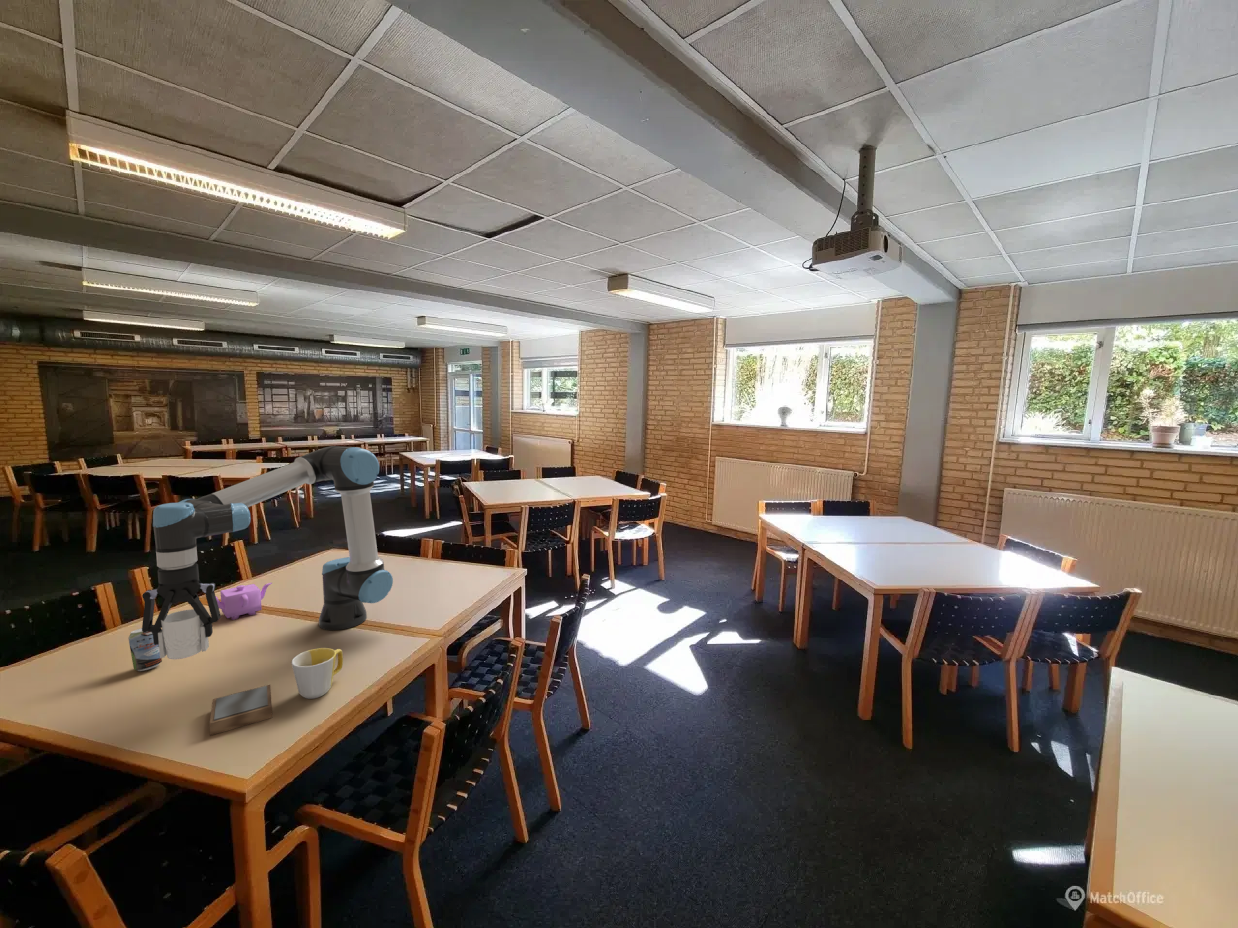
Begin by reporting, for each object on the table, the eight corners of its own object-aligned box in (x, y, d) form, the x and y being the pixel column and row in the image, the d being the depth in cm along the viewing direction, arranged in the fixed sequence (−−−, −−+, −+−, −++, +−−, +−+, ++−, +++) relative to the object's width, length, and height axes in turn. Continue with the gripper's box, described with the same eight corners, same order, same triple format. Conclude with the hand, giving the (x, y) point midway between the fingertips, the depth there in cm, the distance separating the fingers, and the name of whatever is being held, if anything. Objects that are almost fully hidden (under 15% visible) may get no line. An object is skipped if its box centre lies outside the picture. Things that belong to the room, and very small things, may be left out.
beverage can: (144, 674, 141) (141, 635, 139) (124, 671, 142) (121, 632, 141) (168, 664, 147) (165, 625, 146) (149, 661, 148) (146, 623, 147)
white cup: (181, 645, 129) (178, 609, 127) (213, 645, 129) (210, 608, 128) (155, 661, 121) (151, 622, 120) (189, 660, 121) (186, 622, 120)
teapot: (240, 605, 190) (238, 578, 189) (274, 606, 190) (272, 579, 189) (206, 622, 175) (204, 593, 174) (244, 623, 175) (242, 594, 174)
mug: (307, 708, 127) (305, 670, 126) (285, 696, 132) (283, 659, 131) (357, 683, 139) (355, 648, 138) (335, 673, 144) (333, 639, 143)
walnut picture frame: (271, 694, 133) (270, 683, 132) (272, 717, 123) (271, 705, 123) (213, 710, 125) (212, 697, 125) (210, 735, 116) (209, 722, 116)
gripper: (232, 556, 130) (238, 638, 133) (130, 565, 121) (138, 653, 124) (224, 564, 123) (231, 650, 126) (115, 575, 114) (124, 667, 117)
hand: (185, 651), depth 125 cm, fingers closed on white cup, 7 cm apart
